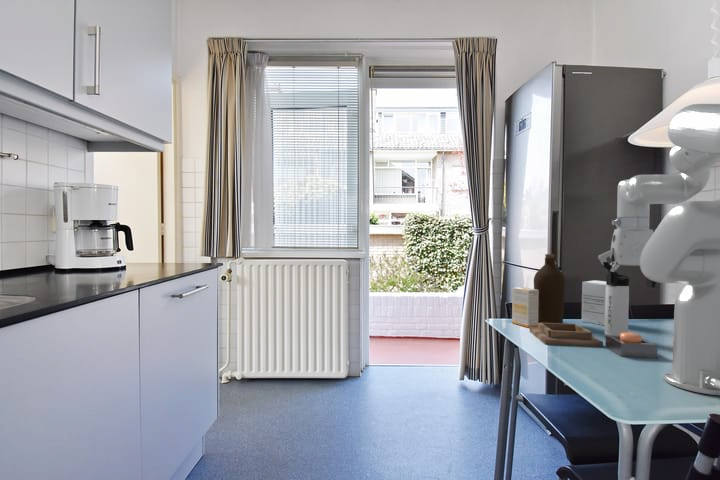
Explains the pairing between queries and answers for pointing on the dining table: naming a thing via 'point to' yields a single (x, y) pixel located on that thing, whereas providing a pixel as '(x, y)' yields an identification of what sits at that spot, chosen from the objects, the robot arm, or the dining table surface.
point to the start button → (630, 337)
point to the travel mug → (617, 306)
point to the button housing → (631, 347)
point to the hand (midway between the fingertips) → (631, 286)
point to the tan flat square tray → (565, 334)
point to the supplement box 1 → (525, 306)
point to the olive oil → (550, 292)
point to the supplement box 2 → (593, 302)
